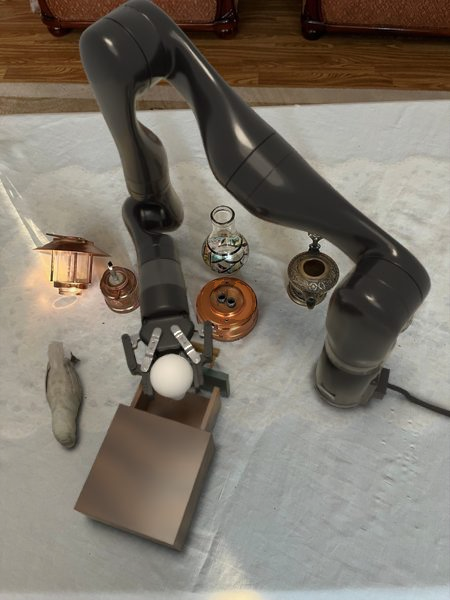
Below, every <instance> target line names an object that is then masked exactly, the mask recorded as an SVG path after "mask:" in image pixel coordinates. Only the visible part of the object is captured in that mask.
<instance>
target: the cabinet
mask: <svg viewBox="0 0 450 600" xmlns="http://www.w3.org/2000/svg"><path fill="white" fill-rule="evenodd" d="M215 445H216V444H215V441H214V436H213V431H212V432H208V431H205V430H202V429H199V428H196V427H193V426H190V425H186V424H183V423H180V422H177V421H174V420H171V419H168V418H164V417H161V416H158V415H155V414H152V413H149V412H145V411H142V410H139V409H136V408H133V407H130V405H127V404H123V403H119V404H118V406H117V409H116V411H115V414H114V415H113V418H112V420H111V422H110V424H109V427H108V428H107V431H106V434H105V436H104V439H103V441H102V443H101V445H100V447H99V449H98V452H97V454H96V456H95V459H94V460H93V463H92V466H91V468H90V469H89V472H88V475H87V477H86V479H85V481H84V484H83V486H82V488H81V491H80V493H79V494H78V495H79V496H78V498H77V500H76V502H75V505H74V506H73V510H74V511H76V512H77V513H79V514H82V515H83V516H86V517H87V518H89V519H91V520H94V521H97V522H99V523H102V524H105V525H108V526H110V527H113V528H116V529H119V530H121V531H124V532H127V533H129V534H131V535H135V536H137V537H140V538H142V539H145V540H148V541H151V542H154V543H156V544H159V545H161V546H165V547H167V548H170V549H172V550H175V551H179V552H182V551H183V549H184V545H185V542H186V540H187V535H188V533H189V530H190V527H191V524H192V521H193V518H194V515H195V512H196V509H197V507H198V503H199V501H200V497H201V494H202V492H203V488H204V485H205V481H206V479H207V476H208V473H209V470H210V467H211V464H212V461H213V458H214V455H215V452H216V446H215Z"/></svg>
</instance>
